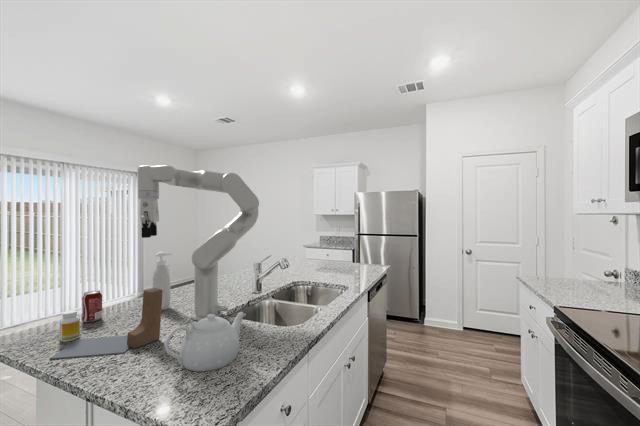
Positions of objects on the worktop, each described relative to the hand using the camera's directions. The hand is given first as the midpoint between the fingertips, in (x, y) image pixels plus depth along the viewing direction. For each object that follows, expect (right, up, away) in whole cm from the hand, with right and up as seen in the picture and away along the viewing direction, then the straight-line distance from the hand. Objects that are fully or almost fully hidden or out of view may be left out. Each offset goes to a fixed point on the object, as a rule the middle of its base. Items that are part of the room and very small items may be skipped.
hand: (149, 236), depth 121 cm
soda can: (-26, -36, +2) cm, 44 cm away
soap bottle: (-4, -36, +18) cm, 40 cm away
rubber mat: (-4, -36, -22) cm, 42 cm away
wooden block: (+10, -36, -20) cm, 42 cm away
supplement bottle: (-20, -36, -16) cm, 44 cm away
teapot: (+37, -36, -32) cm, 60 cm away
